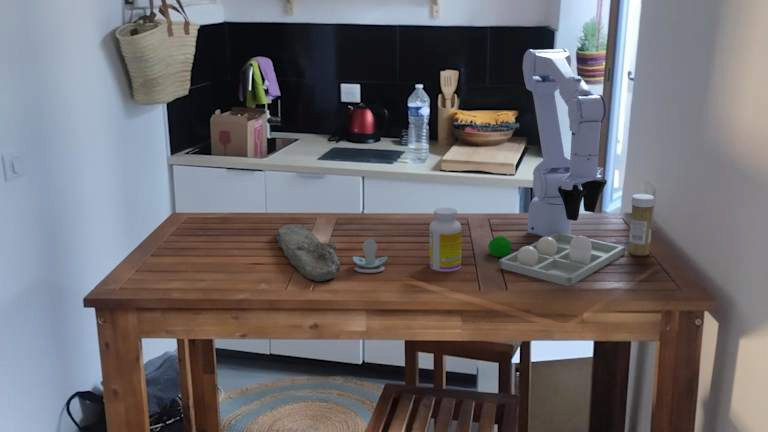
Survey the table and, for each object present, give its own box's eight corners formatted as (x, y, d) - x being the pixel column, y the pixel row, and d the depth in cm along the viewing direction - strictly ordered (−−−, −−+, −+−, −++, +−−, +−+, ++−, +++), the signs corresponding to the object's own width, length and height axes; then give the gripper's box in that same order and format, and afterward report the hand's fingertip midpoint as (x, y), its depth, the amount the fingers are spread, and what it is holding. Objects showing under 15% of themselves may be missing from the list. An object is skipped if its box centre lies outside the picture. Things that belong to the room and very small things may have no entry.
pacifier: (385, 275, 163) (388, 264, 169) (384, 247, 161) (387, 237, 167) (350, 274, 164) (354, 264, 170) (349, 246, 162) (353, 236, 168)
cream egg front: (512, 267, 164) (513, 247, 162) (523, 261, 167) (524, 241, 165) (530, 271, 161) (531, 251, 160) (542, 265, 164) (542, 245, 163)
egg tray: (498, 271, 164) (498, 260, 163) (556, 241, 181) (557, 231, 180) (569, 290, 153) (569, 278, 153) (624, 257, 170) (625, 246, 170)
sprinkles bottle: (654, 256, 171) (659, 196, 167) (640, 260, 168) (645, 200, 164) (636, 250, 174) (641, 192, 170) (623, 254, 172) (627, 195, 168)
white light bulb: (564, 264, 164) (566, 236, 162) (575, 258, 167) (577, 231, 165) (583, 269, 161) (585, 240, 160) (594, 263, 164) (596, 235, 163)
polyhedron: (505, 263, 168) (506, 242, 167) (484, 259, 171) (484, 238, 169) (514, 256, 172) (515, 235, 171) (494, 252, 175) (494, 232, 173)
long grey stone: (308, 237, 192) (269, 244, 189) (306, 216, 191) (266, 223, 188) (351, 278, 160) (304, 288, 157) (349, 253, 159) (301, 263, 156)
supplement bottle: (467, 268, 165) (468, 210, 162) (447, 277, 161) (447, 217, 157) (443, 261, 170) (443, 204, 166) (422, 269, 165) (422, 210, 162)
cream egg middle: (532, 257, 169) (533, 237, 168) (542, 251, 172) (543, 232, 171) (550, 261, 166) (551, 241, 165) (560, 256, 170) (561, 236, 168)
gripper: (585, 162, 157) (581, 227, 161) (618, 149, 167) (613, 211, 171) (553, 157, 161) (550, 220, 165) (587, 145, 171) (584, 205, 175)
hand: (580, 215), depth 168 cm, fingers open, 7 cm apart
